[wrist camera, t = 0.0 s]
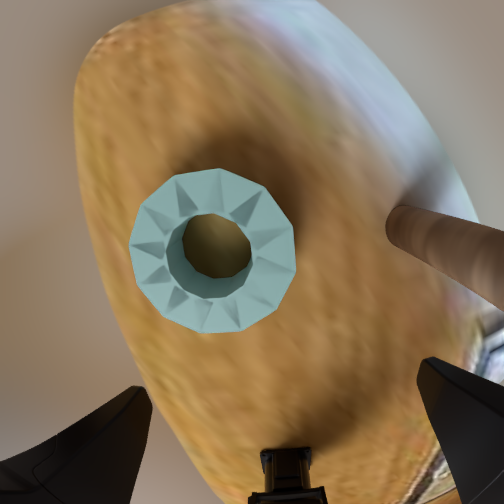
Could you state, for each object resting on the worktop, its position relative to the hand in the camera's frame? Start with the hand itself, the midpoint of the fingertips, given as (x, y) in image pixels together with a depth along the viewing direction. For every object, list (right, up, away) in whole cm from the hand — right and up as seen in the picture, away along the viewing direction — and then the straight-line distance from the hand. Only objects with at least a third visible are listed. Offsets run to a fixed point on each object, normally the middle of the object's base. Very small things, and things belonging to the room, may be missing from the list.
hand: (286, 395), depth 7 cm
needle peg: (+12, +6, +13) cm, 19 cm away
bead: (-4, +5, +14) cm, 15 cm away
